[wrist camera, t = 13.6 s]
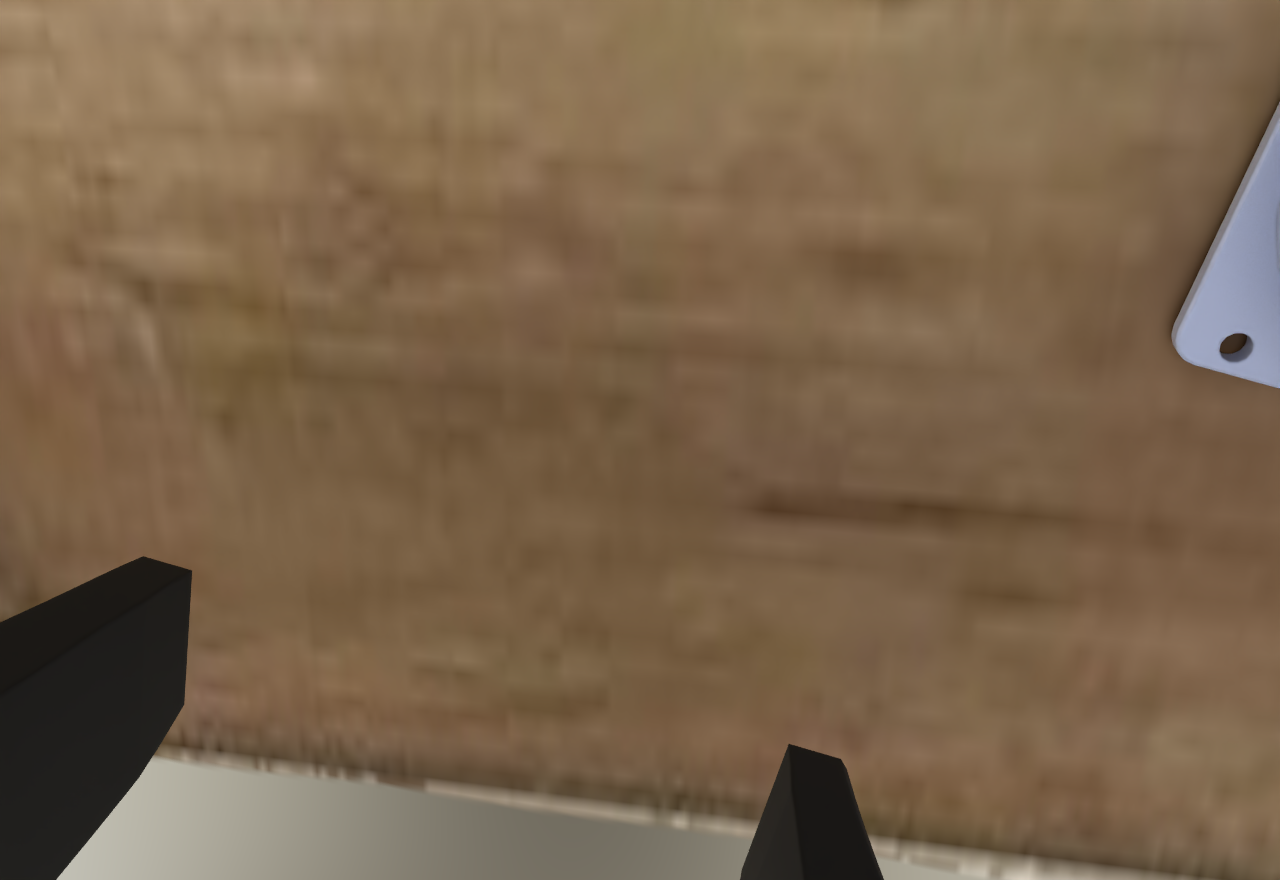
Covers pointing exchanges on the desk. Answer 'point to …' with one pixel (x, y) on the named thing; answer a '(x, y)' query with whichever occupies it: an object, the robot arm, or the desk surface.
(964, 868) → the desk surface
